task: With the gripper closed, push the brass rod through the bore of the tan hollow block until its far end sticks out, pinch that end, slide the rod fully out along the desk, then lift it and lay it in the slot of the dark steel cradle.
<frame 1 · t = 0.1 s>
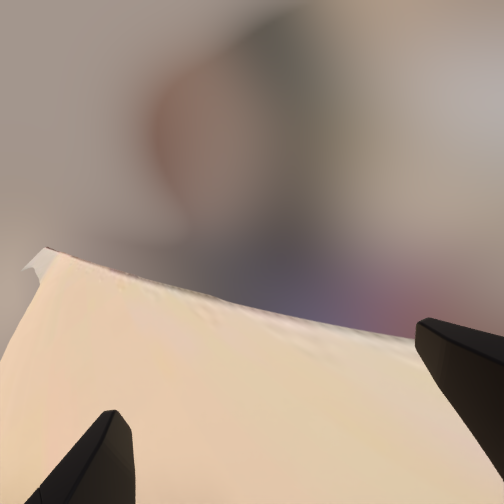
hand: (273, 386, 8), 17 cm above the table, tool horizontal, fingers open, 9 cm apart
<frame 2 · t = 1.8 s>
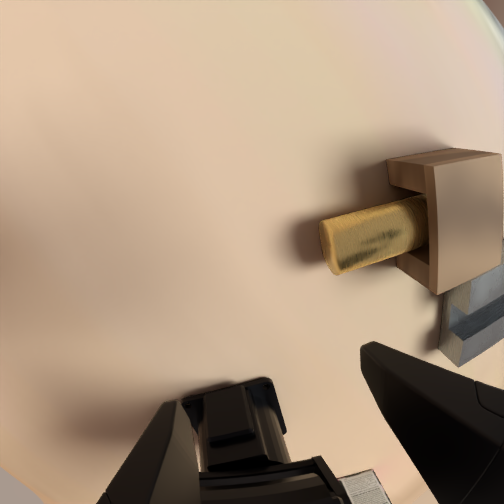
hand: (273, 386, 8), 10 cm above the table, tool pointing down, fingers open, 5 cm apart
brass rod: (397, 213, 18), on the table, tilted 12°
steel cradle: (485, 288, 22), on the table
candy bar box: (344, 491, 30), on the table
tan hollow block: (428, 205, 18), on the table
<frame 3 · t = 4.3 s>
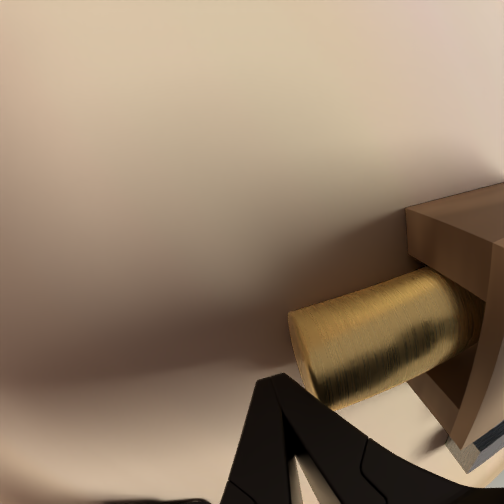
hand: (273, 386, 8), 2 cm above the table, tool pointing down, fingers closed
brass rod: (434, 296, 10), on the table, tilted 18°, touching gripper
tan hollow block: (466, 280, 10), on the table
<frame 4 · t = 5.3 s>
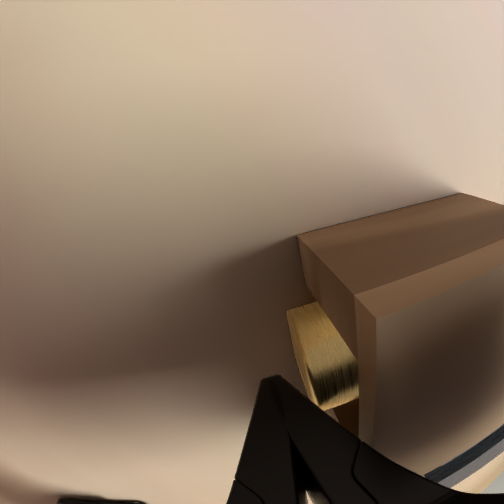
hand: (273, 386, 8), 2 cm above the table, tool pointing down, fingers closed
brass rod: (434, 294, 10), on the table, tilted 17°
steel cradle: (485, 394, 13), on the table
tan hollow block: (397, 311, 10), on the table
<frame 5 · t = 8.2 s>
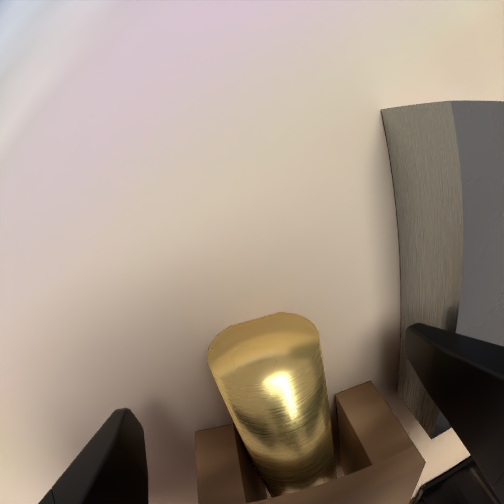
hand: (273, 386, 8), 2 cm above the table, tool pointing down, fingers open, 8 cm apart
brass rod: (288, 423, 11), on the table, tilted 7°
steel cradle: (478, 249, 10), on the table
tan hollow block: (295, 450, 12), on the table
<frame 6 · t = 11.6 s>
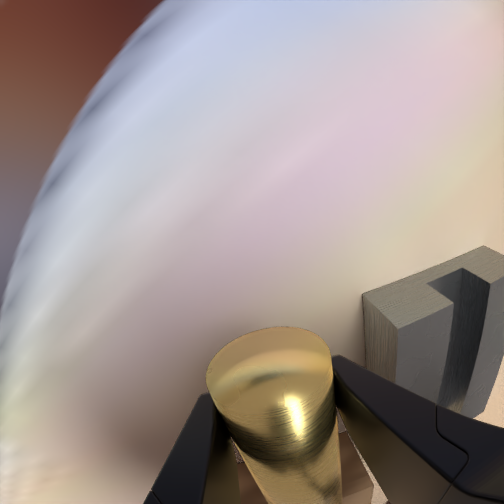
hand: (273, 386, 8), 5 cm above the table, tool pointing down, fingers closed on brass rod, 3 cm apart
brass rod: (291, 440, 10), point 4 cm above the table, touching gripper
steel cradle: (426, 353, 15), on the table
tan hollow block: (297, 471, 17), on the table
when the fingers open (5 cm above the table, at t = 14.2 s): brass rod drops 1 cm, resting on steel cradle.
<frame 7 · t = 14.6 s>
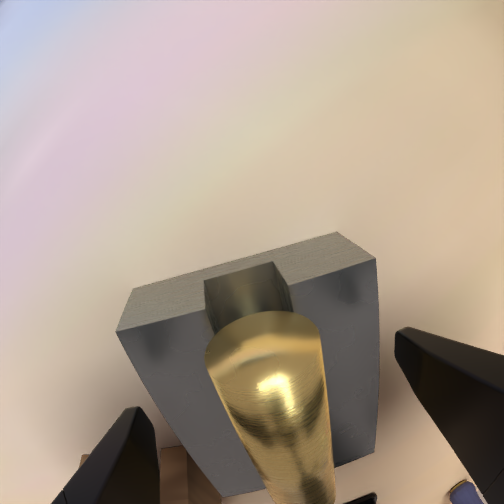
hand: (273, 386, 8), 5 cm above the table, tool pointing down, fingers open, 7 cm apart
brass rod: (284, 421, 11), point 3 cm above the table, touching steel cradle
rubber mallet: (456, 484, 28), on the table
steel cradle: (266, 371, 13), on the table
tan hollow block: (152, 477, 15), on the table
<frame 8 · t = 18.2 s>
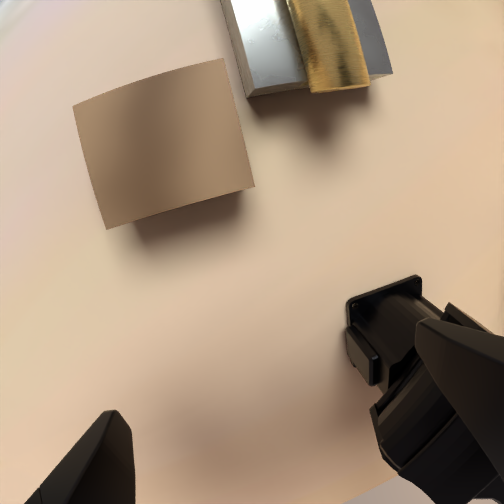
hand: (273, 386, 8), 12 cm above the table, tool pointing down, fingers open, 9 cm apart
brass rod: (306, 1, 13), point 3 cm above the table, touching steel cradle
steel cradle: (289, 8, 15), on the table
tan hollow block: (169, 143, 17), on the table
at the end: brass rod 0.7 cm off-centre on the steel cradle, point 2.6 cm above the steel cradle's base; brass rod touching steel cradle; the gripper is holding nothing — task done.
